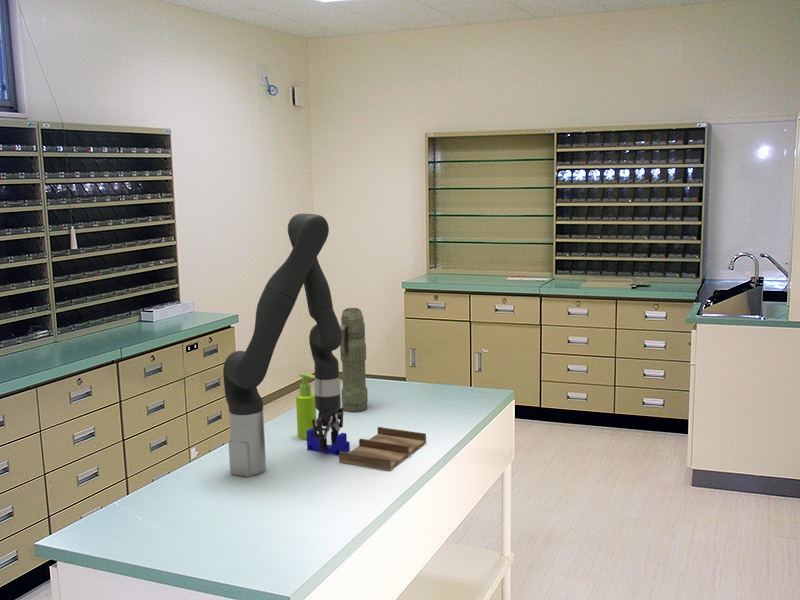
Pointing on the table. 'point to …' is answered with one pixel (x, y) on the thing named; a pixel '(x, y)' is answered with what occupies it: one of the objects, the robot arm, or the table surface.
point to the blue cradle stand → (334, 449)
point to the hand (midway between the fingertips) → (329, 446)
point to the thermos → (353, 361)
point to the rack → (384, 449)
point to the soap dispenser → (305, 407)
